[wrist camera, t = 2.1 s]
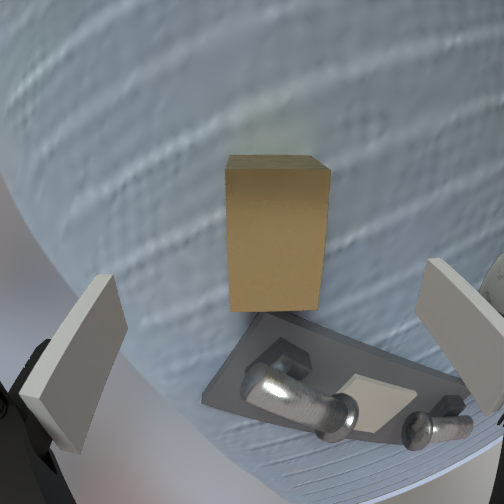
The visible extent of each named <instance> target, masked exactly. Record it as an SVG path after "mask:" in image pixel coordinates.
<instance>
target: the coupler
mask: <svg viewBox="0 0 504 504" xmlns="http://www.w3.org/2000/svg"><path fill="white" fill-rule="evenodd" d="M330 176H331V170H330V169H329V168H327V167H326V166H325V165H323V164H322V163H320V162H319V161H318V160H316V159H315V158H314V157H312V156H309V155H230V156H229V159H228V162H227V165H226V168H225V181H226V216H227V245H228V271H229V294H230V312H269V311H302V310H318V302H319V294H320V286H321V278H322V269H323V260H324V250H325V240H326V229H327V217H328V205H329V191H330Z"/></svg>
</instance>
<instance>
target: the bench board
mask: <svg viewBox="0 0 504 504" xmlns="http://www.w3.org/2000/svg"><path fill="white" fill-rule="evenodd" d="M280 337H282V338H283V339H285V340H287V341H289V342H290V343H292V344H294V345H296V346H297V347H299V348H301V349H303V350H304V351H306V352H308V353H309V356H310V361H311V365H312V369H313V371H312V372H311V373H309V374H308V375H307V376H306V377H304V378H303V379H302V380H301V381H300V382H302V383H304V384H306V385H308V386H310V387H312V388H314V389H317V390H319V391H321V392H323V393H325V394H327V395H329V396H332V395H334V394H335V393H336V392H337V391H338V390H339V389H340V388H341V387H342V386H343V385H344V384H345V383H346V382H347V381H348V380H349V379H350V378H351V377H352V376H353V375H354V374H358V375H361V376H365V377H368V378H371V379H375V380H378V381H381V382H385V383H388V384H392V385H395V386H399V387H403V388H406V389H410V390H414V391H416V393H417V396H416V397H415V398H414V399H413V400H412V401H411V402H410V403H409V404H407V405H406V406H405V407H404V408H403V409H402V410H401V411H400V412H398V413H397V414H396V415H395V416H394V417H393V418H392V419H390V420H389V421H388V422H387V423H386V424H384V425H383V426H382V427H381V428H380V429H378V430H377V431H376V432H375V433H371V432H365V431H358V430H353V431H352V432H351V433H350V434H349V435H348V436H347V437H346V438H348V439H355V440H362V441H370V442H379V443H388V444H400V445H403V442H402V438H401V431H402V426H403V424H404V421H405V420H406V418H407V417H408V416H409V415H410V414H411V413H413V412H415V411H424V412H426V413H429V412H430V411H431V410H432V409H433V408H434V407H435V406H436V404H437V403H438V402H439V401H440V400H441V399H442V398H443V397H444V396H445V395H460V396H461V398H462V400H463V401H464V400H465V399H466V398H467V397H468V396H469V395H470V394H471V393H470V391H469V390H468V388H467V386H466V385H465V383H464V382H463V380H462V379H459V378H456V377H454V376H451V375H448V374H445V373H442V372H439V371H436V370H434V369H431V368H428V367H425V366H423V365H420V364H417V363H414V362H412V361H409V360H406V359H403V358H401V357H398V356H395V355H393V354H390V353H387V352H385V351H382V350H380V349H377V348H374V347H372V346H369V345H367V344H364V343H361V342H359V341H356V340H354V339H351V338H349V337H346V336H344V335H341V334H339V333H336V332H334V331H331V330H329V329H326V328H324V327H321V326H319V325H316V324H314V323H311V322H309V321H306V320H304V319H302V318H299V317H297V316H294V315H292V314H290V313H287V312H285V311H269V312H259V313H258V314H257V316H256V317H255V319H254V320H253V322H252V323H251V325H250V326H249V328H248V329H247V331H246V332H245V334H244V335H243V336H242V338H241V339H240V341H239V342H238V344H237V345H236V347H235V348H234V350H233V351H232V352H231V354H230V355H229V357H228V358H227V360H226V361H225V362H224V364H223V365H222V367H221V368H220V370H219V371H218V372H217V374H216V375H215V377H214V378H213V379H212V381H211V382H210V384H209V385H208V386H207V388H206V389H205V391H204V392H203V393H202V400H201V403H202V404H205V405H208V406H211V407H214V408H217V409H220V410H224V411H227V412H230V413H234V414H237V415H241V416H244V417H248V418H252V419H256V420H259V421H263V422H267V423H271V424H275V425H280V426H284V427H288V428H293V429H298V430H302V431H307V432H313V433H315V429H313V428H311V427H308V426H305V425H302V424H300V423H297V422H294V421H292V420H289V419H287V418H284V417H282V416H279V415H277V414H274V413H272V412H269V411H267V410H264V409H262V408H260V407H257V406H255V405H253V404H250V403H248V402H246V401H244V400H242V399H241V397H240V387H241V383H242V381H243V379H244V377H245V368H246V367H248V366H249V365H250V364H251V363H252V362H253V361H254V360H256V359H257V358H258V357H259V356H260V355H261V354H262V353H263V352H264V351H265V350H267V349H268V348H269V347H270V346H271V345H272V344H273V343H274V342H275V341H276V340H277V339H279V338H280Z"/></svg>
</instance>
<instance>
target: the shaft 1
mask: <svg viewBox="0 0 504 504" xmlns="http://www.w3.org/2000/svg"><path fill="white" fill-rule="evenodd" d="M312 371H313V369H312V365H311V361H310V356H309V353H308V352H306V351H304V350H303V349H301V348H299V347H297V346H296V345H294V344H292V343H290V342H289V341H287V340H285V339H283V338H282V337H280V338H279V339H277V340H276V341H275V342H274V343H273V344H272V345H271V346H270V347H269V348H268V349H267V350H265V351H264V352H263V353H262V354H261V355H260V356H259V357H258V358H257V359H256V360H254V361H253V362H252V363H251V364H250V365H249V366H248V367H246V368H245V377H244V379H243V381H242V383H241V387H240V397H241V399H242V400H244V401H246V402H248V403H250V404H253V405H255V406H257V407H260V408H262V409H264V410H267V411H269V412H272V413H274V414H277V415H279V416H282V417H284V418H287V419H289V420H292V421H294V422H297V423H300V424H302V425H305V426H308V427H311V428H313V429H315V433H316V435H317V436H318V438H320V439H321V440H323V441H326V442H330V443H335V442H339V441H341V440H343V439H345V438H346V437H347V436H348V435H349V434H350V433H351V432H352V431H353V429H354V427H355V426H356V423H357V421H358V417H359V407H358V403H357V401H356V400H355V399H354V398H353V397H351V396H349V395H347V394H345V393H337V394H334V395H332V396H329V395H327V394H325V393H323V392H321V391H319V390H317V389H314V388H312V387H310V386H308V385H306V384H304V383H302V382H300V381H301V380H302V379H303V378H304V377H306V376H307V375H308V374H309V373H311V372H312Z"/></svg>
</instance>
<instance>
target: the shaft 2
mask: <svg viewBox="0 0 504 504" xmlns="http://www.w3.org/2000/svg"><path fill="white" fill-rule="evenodd" d="M465 408H466V405H465V404H464V402H463V400H462V398H461V396H460V395H445V396H444V397H443V398H442V399H441V400H440V401H439V402H438V403H437V404H436V406H435V407H434V408H433V409H432V410H431V411H430V412H429V413H426V412H424V411H415V412H413V413H411V414H410V415H409V416H408V417H407V418H406V420H405V421H404V424H403V426H402V431H401V438H402V442H403V445H404V446H405V447H406V448H407V449H408V450H410V451H416V450H421V449H423V448H424V447H425V446H426V445H427V444H428V443H434V442H443V441H450V440H457V439H463V438H466V437H468V436H469V435H470V434H471V432H472V429H473V420H472V418H471V417H470V416H468V415H461V416H458V415H459V414H460V413H461V412H462V411H463V410H464V409H465Z"/></svg>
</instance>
